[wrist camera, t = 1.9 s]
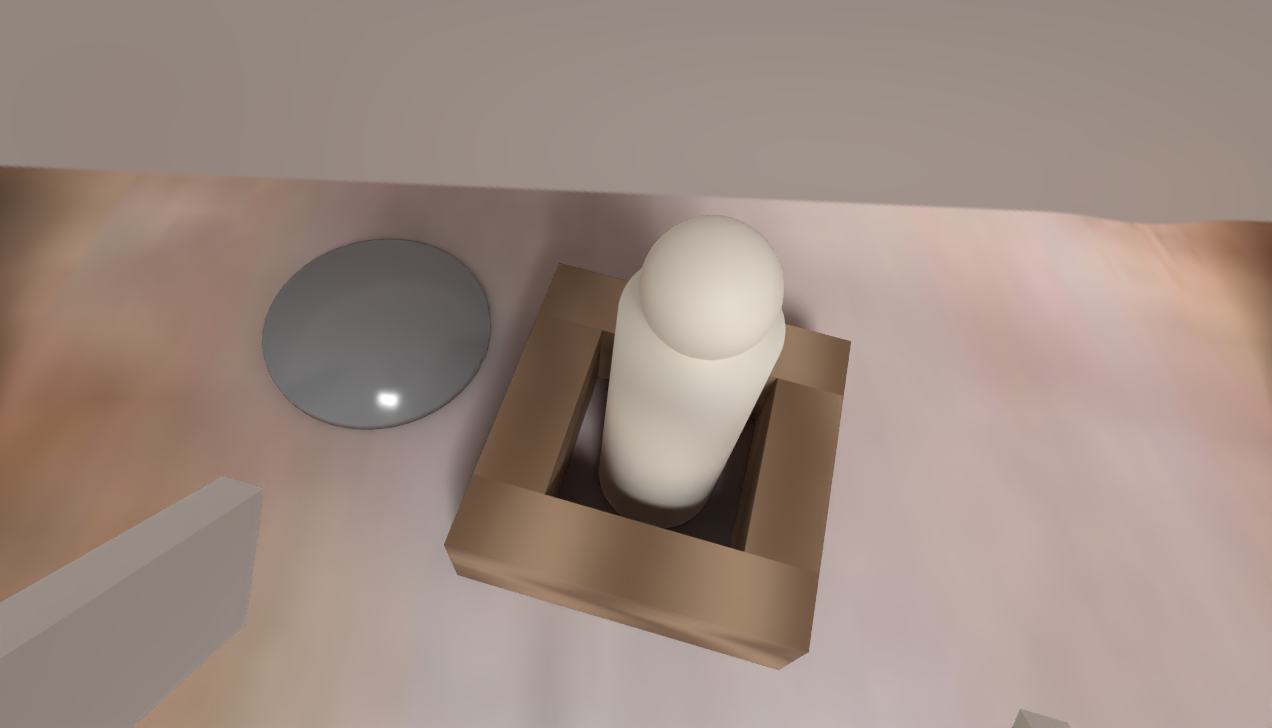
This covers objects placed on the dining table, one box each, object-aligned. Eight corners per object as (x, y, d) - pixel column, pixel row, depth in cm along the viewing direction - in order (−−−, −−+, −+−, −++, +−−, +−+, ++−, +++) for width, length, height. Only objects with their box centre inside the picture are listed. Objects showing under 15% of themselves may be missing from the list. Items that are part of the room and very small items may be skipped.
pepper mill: (723, 437, 34) (832, 197, 20) (700, 542, 31) (806, 347, 18) (616, 407, 34) (653, 151, 20) (584, 509, 31) (603, 292, 18)
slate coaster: (520, 277, 37) (519, 269, 36) (441, 456, 32) (439, 450, 31) (329, 225, 38) (326, 217, 37) (223, 393, 32) (217, 387, 32)
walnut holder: (822, 386, 35) (851, 341, 32) (778, 670, 29) (808, 651, 25) (559, 314, 36) (559, 262, 33) (457, 574, 29) (443, 544, 26)
